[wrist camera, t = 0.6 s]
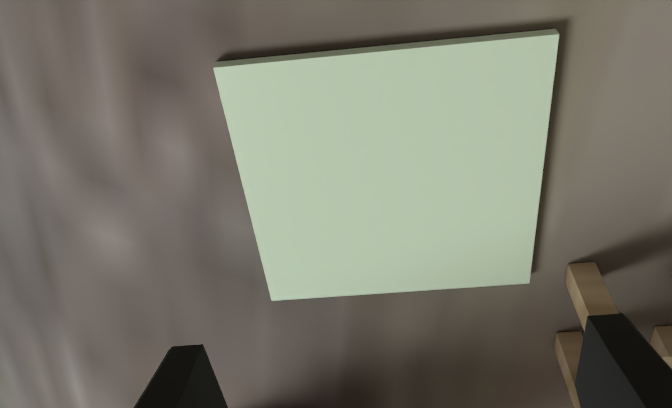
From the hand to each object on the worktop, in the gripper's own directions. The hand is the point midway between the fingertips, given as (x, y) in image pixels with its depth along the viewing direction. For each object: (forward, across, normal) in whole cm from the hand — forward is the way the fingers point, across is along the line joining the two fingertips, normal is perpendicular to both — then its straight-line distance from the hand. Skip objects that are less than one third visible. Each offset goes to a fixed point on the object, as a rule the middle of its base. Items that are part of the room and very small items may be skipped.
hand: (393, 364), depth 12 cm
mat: (+10, 0, +3) cm, 10 cm away
